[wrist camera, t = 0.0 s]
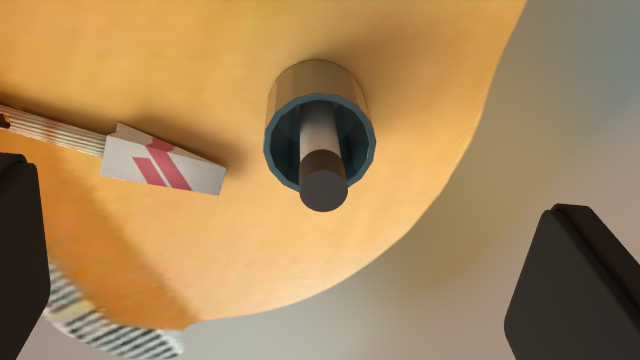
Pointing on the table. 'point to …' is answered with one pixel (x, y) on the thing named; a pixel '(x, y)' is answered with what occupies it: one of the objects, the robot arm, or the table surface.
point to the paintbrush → (124, 153)
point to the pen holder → (284, 120)
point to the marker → (320, 158)
